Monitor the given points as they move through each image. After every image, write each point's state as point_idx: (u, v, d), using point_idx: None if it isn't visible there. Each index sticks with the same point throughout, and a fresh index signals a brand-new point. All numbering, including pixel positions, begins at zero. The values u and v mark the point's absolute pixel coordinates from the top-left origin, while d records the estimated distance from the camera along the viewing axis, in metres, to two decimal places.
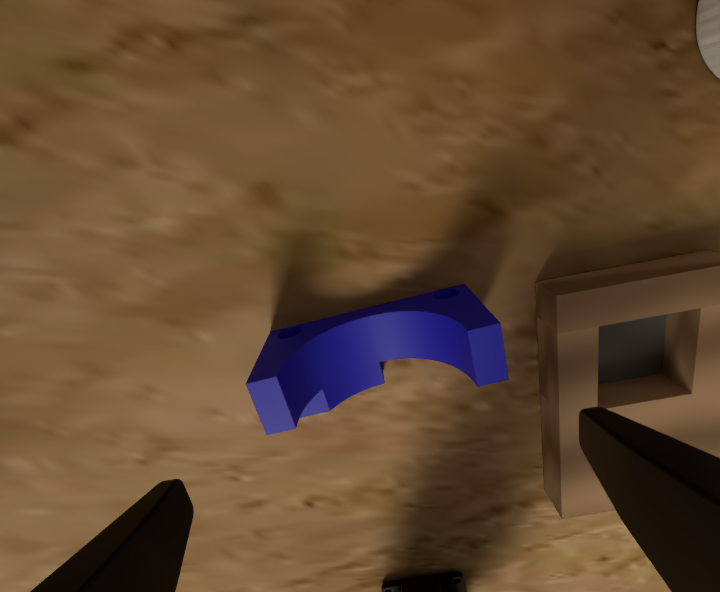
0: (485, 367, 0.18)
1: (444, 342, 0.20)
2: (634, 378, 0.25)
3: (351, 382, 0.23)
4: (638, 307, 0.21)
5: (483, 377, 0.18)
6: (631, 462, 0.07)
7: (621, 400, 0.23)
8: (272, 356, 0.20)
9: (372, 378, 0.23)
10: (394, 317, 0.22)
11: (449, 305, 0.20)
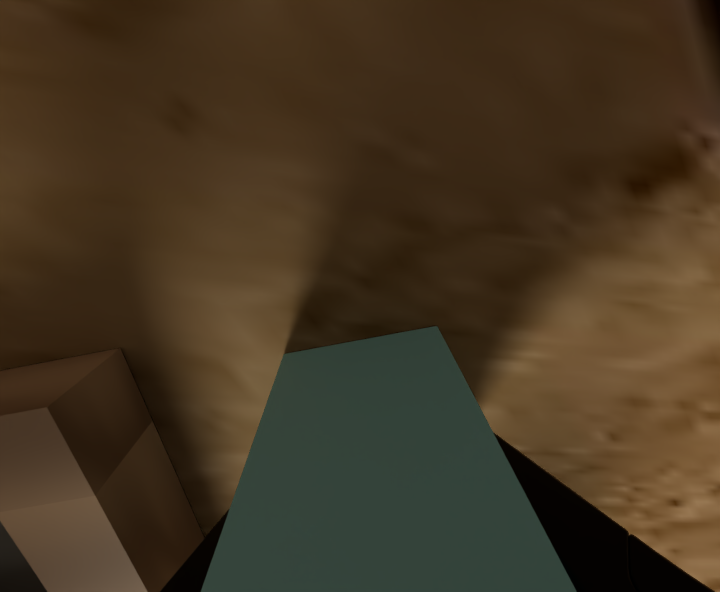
0: None
1: None
2: None
3: None
4: None
5: None
6: None
7: None
8: None
9: None
10: None
11: None
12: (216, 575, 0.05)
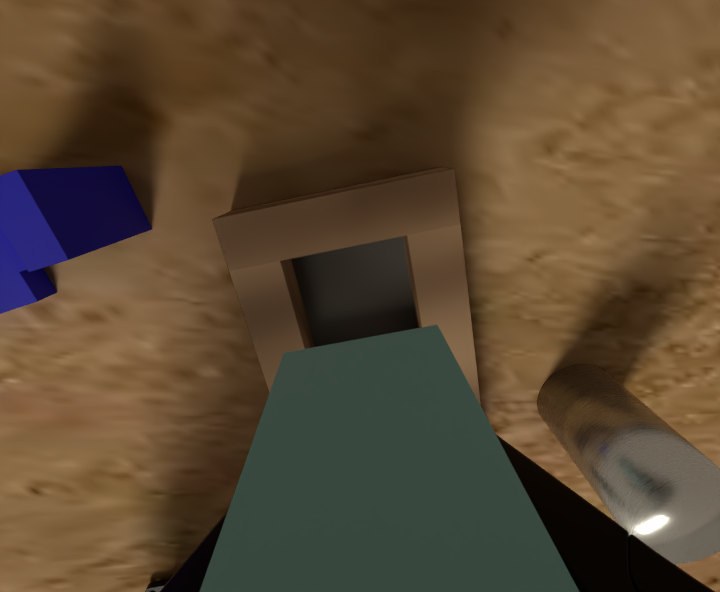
0: (27, 241, 0.13)
1: None
2: None
3: None
4: (324, 234, 0.16)
5: (30, 257, 0.13)
6: None
7: None
8: None
9: (17, 294, 0.18)
10: None
11: None
12: (216, 574, 0.05)
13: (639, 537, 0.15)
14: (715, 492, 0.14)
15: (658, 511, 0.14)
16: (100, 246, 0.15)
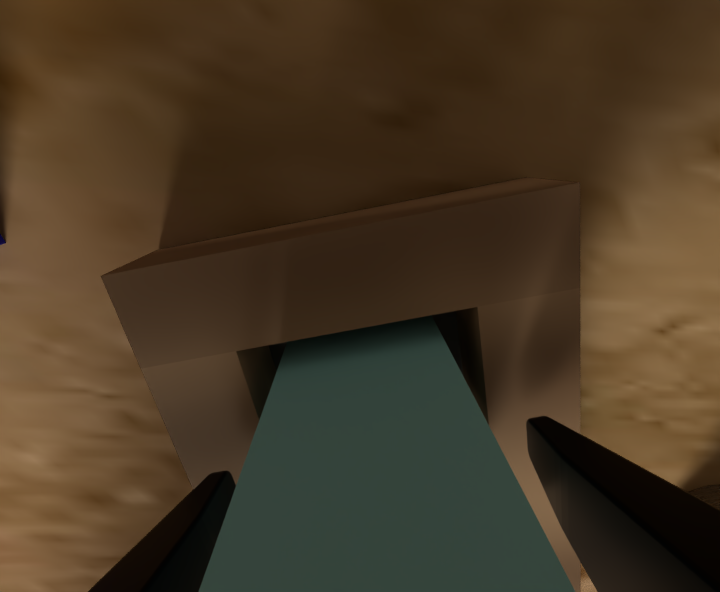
0: None
1: None
2: None
3: None
4: (320, 305, 0.08)
5: None
6: (566, 473, 0.07)
7: None
8: None
9: None
10: None
11: None
12: (242, 491, 0.06)
13: None
14: None
15: None
16: None
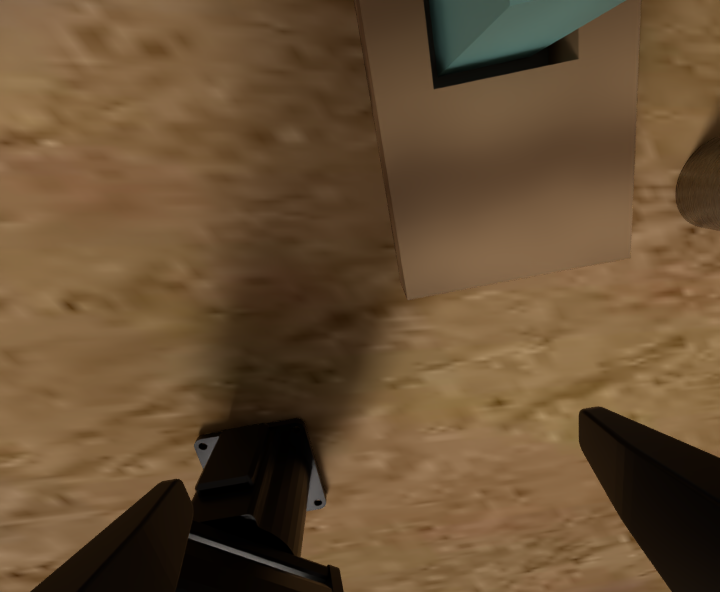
0: None
1: None
2: None
3: None
4: None
5: None
6: (631, 462, 0.07)
7: (473, 82, 0.15)
8: None
9: None
10: None
11: None
12: None
13: None
14: None
15: None
16: None
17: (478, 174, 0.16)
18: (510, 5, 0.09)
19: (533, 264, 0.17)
